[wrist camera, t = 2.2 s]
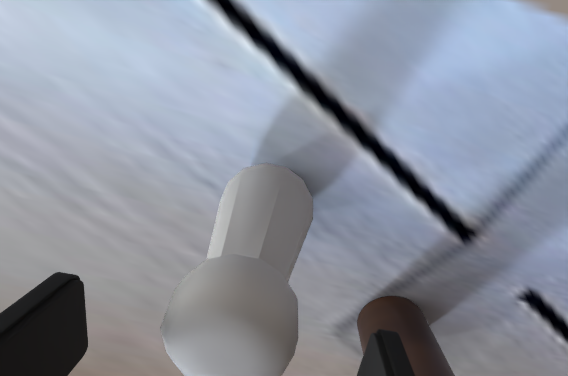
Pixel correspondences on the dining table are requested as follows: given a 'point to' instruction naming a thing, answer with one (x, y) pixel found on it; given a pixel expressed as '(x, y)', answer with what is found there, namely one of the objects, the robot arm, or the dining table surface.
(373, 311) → the pepper mill
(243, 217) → the salt shaker
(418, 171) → the dining table surface
